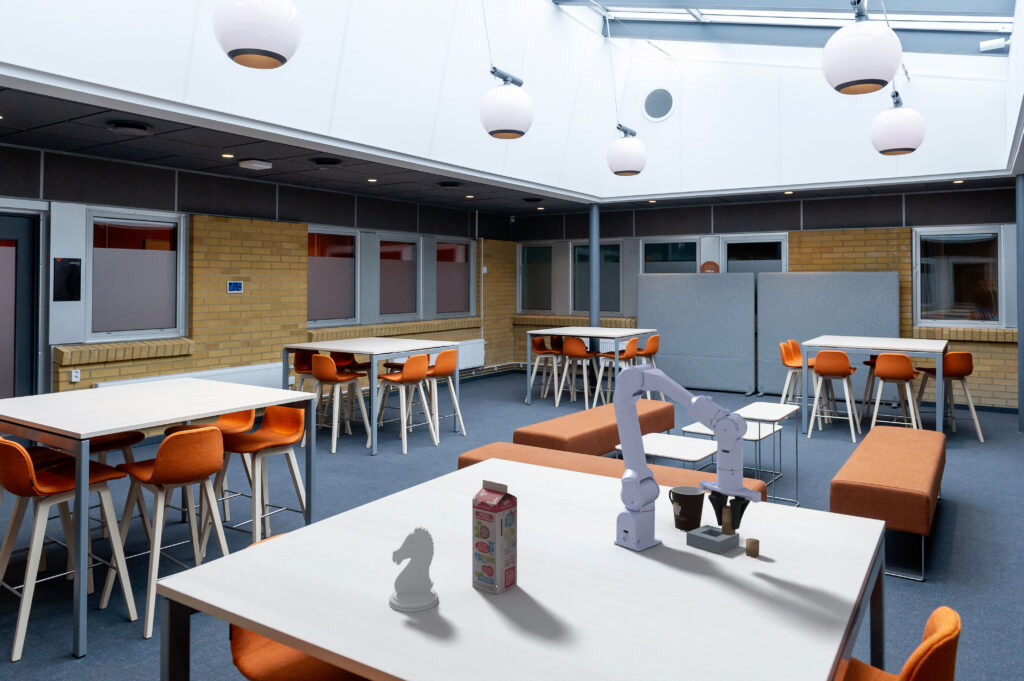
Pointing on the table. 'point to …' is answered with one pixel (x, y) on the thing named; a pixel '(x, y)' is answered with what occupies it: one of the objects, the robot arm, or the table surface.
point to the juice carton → (494, 538)
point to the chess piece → (414, 574)
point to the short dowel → (752, 547)
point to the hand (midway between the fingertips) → (728, 526)
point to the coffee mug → (687, 506)
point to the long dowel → (727, 521)
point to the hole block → (712, 539)
